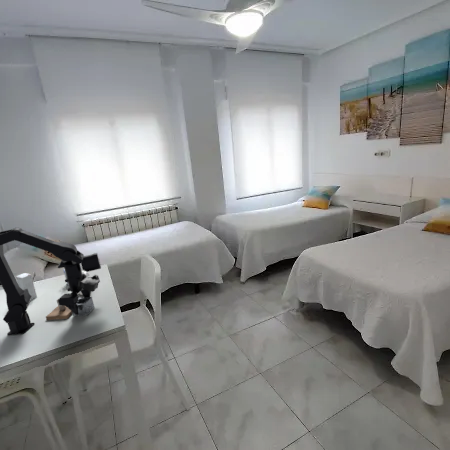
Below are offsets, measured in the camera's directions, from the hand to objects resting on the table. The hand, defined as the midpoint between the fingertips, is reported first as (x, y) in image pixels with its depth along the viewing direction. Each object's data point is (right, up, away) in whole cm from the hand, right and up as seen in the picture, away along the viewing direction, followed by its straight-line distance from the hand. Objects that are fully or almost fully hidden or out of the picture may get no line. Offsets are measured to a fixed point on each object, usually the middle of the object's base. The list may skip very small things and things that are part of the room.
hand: (83, 308), depth 114 cm
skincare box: (-35, -1, +18) cm, 39 cm away
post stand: (-9, -2, +1) cm, 9 cm away
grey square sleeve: (0, -2, 0) cm, 2 cm away
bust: (-9, +2, +19) cm, 22 cm away
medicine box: (-20, +4, +30) cm, 37 cm away
